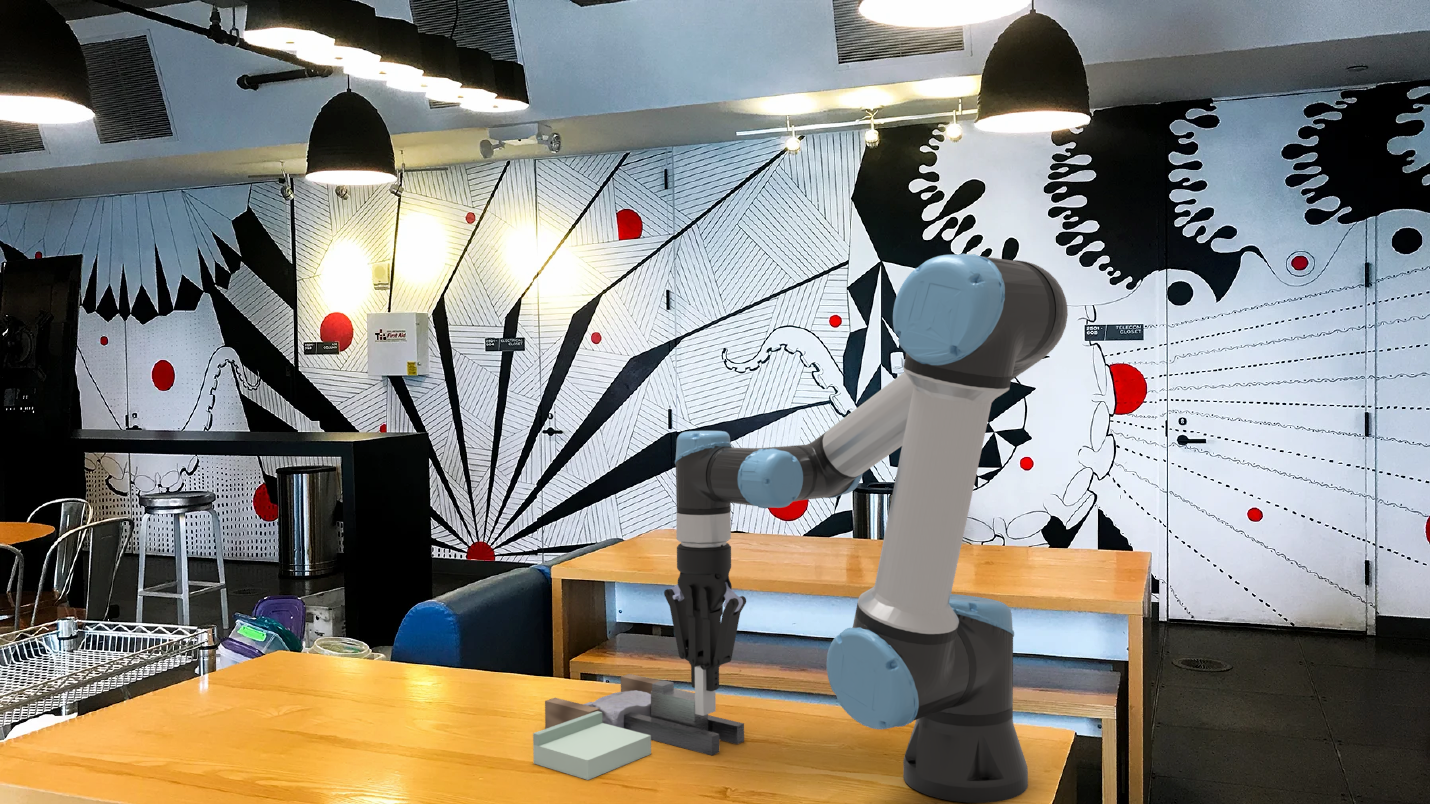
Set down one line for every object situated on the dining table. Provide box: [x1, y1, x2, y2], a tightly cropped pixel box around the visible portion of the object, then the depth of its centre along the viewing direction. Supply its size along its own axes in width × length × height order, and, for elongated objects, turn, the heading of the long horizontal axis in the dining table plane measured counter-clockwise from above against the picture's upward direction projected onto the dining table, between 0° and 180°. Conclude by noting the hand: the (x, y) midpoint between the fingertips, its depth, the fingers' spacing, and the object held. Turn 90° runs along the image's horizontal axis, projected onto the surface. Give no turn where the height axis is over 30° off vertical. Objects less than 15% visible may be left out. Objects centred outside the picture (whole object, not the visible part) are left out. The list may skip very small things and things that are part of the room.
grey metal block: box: [651, 679, 709, 731], centre depth 155 cm, size 8×3×7 cm, turn 52°
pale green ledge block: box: [532, 711, 652, 781], centre depth 146 cm, size 10×12×4 cm
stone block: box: [582, 690, 651, 728], centre depth 163 cm, size 12×5×10 cm
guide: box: [624, 706, 745, 756], centre depth 155 cm, size 16×7×2 cm, turn 52°
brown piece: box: [544, 673, 661, 729], centre depth 164 cm, size 9×18×4 cm, turn 142°
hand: (705, 712), depth 152 cm, fingers closed
